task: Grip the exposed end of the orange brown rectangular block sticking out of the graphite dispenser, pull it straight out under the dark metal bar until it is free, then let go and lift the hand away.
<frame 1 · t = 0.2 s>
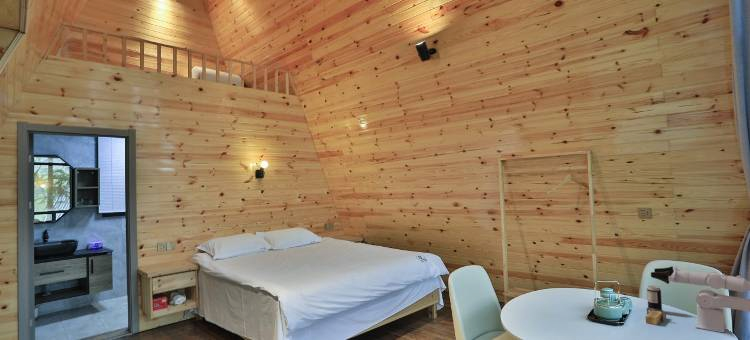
hand: (652, 272, 194), 21 cm above the table, tool horizontal, fingers open, 7 cm apart
orange brown rectangular block: (654, 321, 191), on the table
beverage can: (655, 311, 204), on the table
ticket dispenser: (656, 318, 194), on the table
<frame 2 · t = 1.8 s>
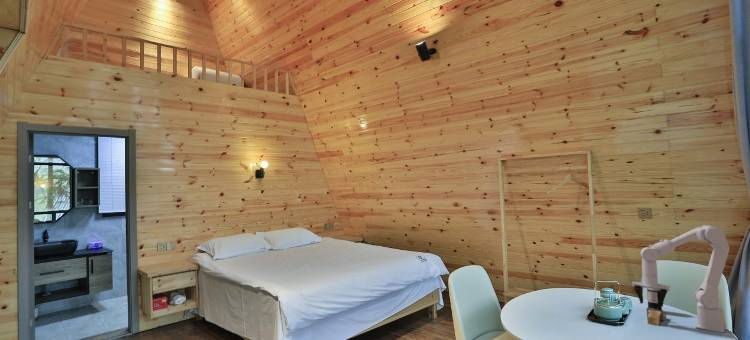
hand: (651, 304, 189), 8 cm above the table, tool pointing down, fingers open, 7 cm apart
nothing on the table moved.
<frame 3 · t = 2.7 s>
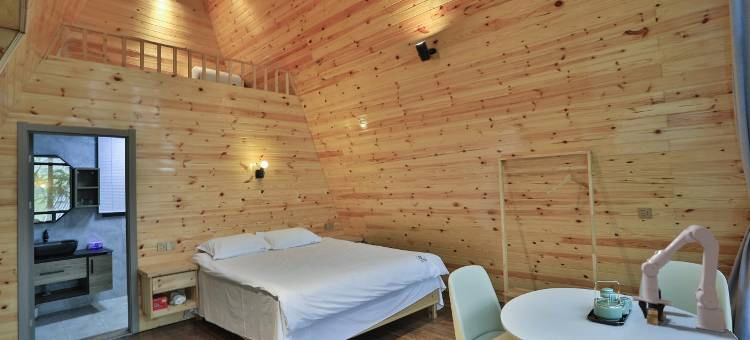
hand: (652, 319, 188), 2 cm above the table, tool pointing down, fingers open, 4 cm apart
orange brown rectangular block: (654, 321, 191), on the table, touching gripper
everything else where it was.
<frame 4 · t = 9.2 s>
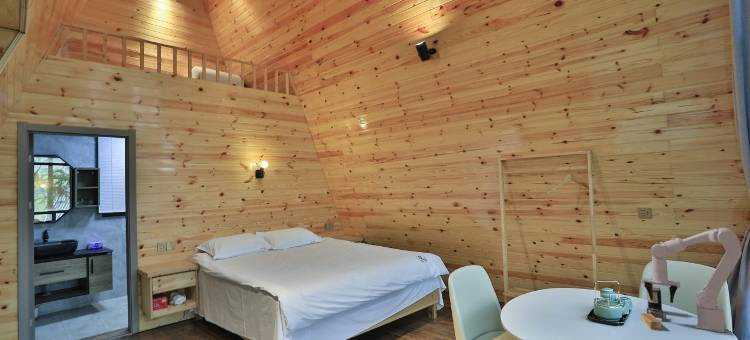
hand: (661, 300, 190), 9 cm above the table, tool pointing down, fingers open, 7 cm apart
orange brown rectangular block: (651, 325, 186), on the table
everything else where it was.
at the end: orange brown rectangular block inside the target area (1.6 cm from its centre), on the table; orange brown rectangular block tilted 0°; the gripper is holding nothing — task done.
